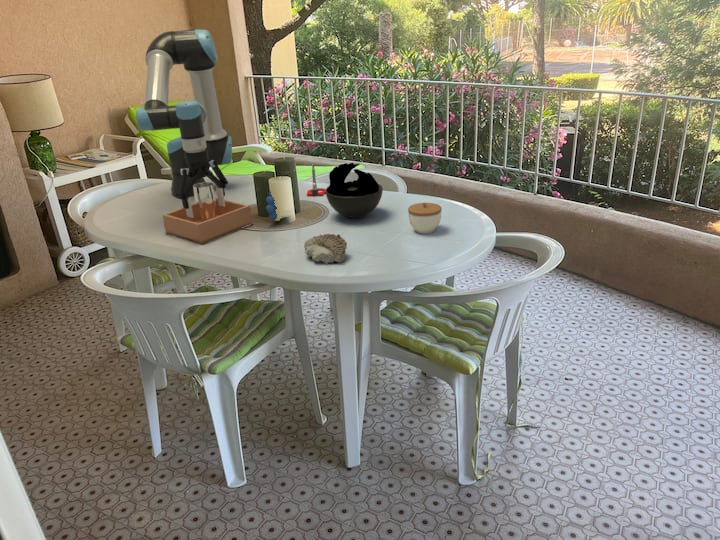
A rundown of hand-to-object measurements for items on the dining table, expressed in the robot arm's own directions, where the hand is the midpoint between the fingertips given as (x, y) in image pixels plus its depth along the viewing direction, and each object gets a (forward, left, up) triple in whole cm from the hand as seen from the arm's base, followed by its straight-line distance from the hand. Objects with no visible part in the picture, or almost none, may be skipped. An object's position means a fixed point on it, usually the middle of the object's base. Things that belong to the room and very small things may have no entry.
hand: (206, 211), depth 191 cm
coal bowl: (-36, +37, -7) cm, 52 cm away
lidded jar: (-36, +66, -7) cm, 76 cm away
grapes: (-18, +17, -7) cm, 26 cm away
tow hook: (-51, +5, -7) cm, 52 cm away
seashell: (-2, +53, -7) cm, 53 cm away
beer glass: (0, 0, -6) cm, 6 cm away
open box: (0, 0, -7) cm, 7 cm away
